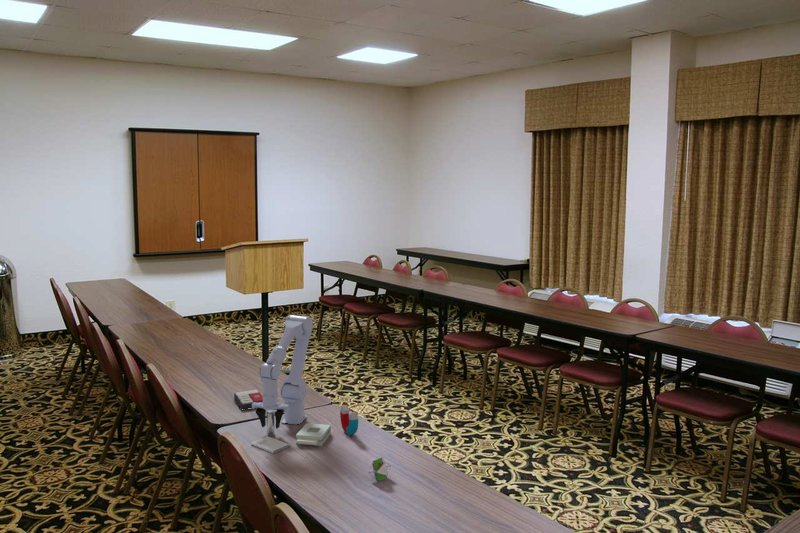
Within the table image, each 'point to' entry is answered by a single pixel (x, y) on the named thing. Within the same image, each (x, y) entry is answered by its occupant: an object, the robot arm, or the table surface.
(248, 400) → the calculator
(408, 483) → the table surface
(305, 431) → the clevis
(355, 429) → the magnet
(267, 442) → the external hard drive
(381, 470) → the geometric puzzle
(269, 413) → the pin
